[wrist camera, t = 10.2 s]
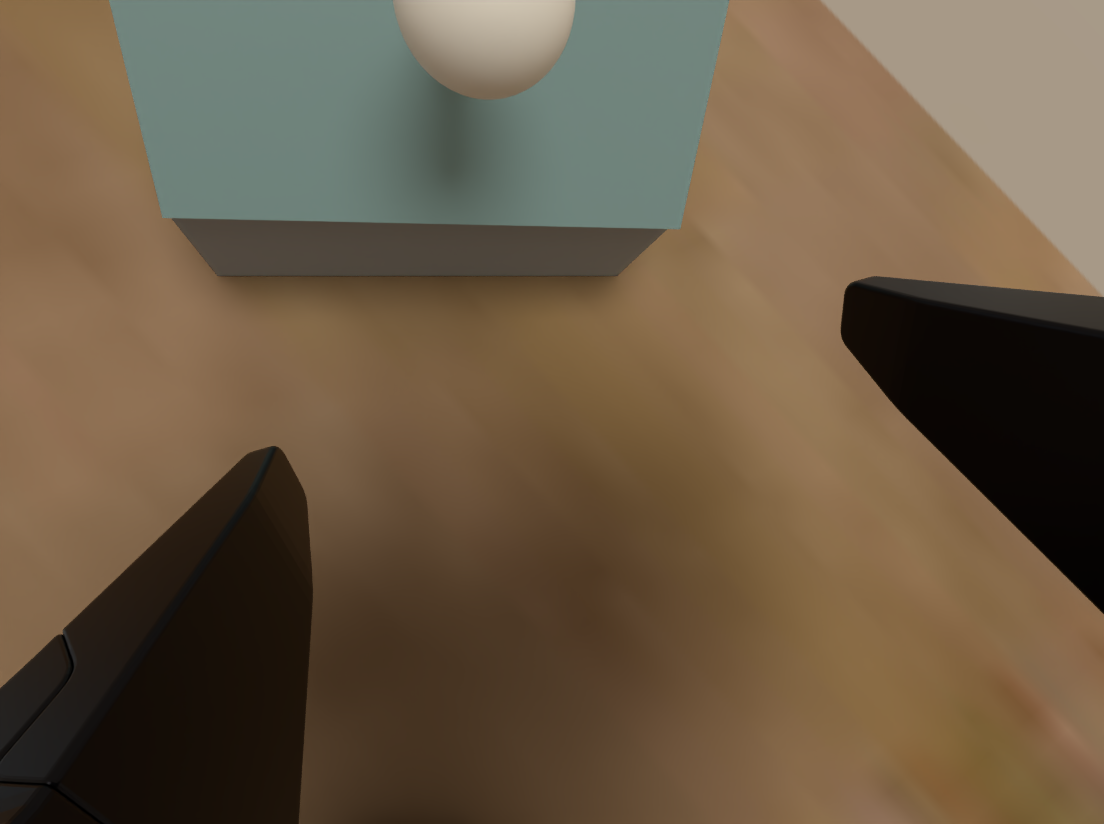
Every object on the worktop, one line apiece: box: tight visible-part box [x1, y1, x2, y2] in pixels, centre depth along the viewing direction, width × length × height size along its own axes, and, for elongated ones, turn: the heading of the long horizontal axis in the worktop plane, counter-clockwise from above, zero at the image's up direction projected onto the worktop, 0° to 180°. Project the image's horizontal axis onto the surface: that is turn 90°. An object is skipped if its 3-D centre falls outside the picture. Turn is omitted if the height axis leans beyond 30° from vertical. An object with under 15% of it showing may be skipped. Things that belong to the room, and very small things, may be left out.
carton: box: [172, 218, 667, 276], centre depth 20 cm, size 14×14×6 cm
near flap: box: [109, 0, 729, 229], centre depth 13 cm, size 7×14×7 cm
